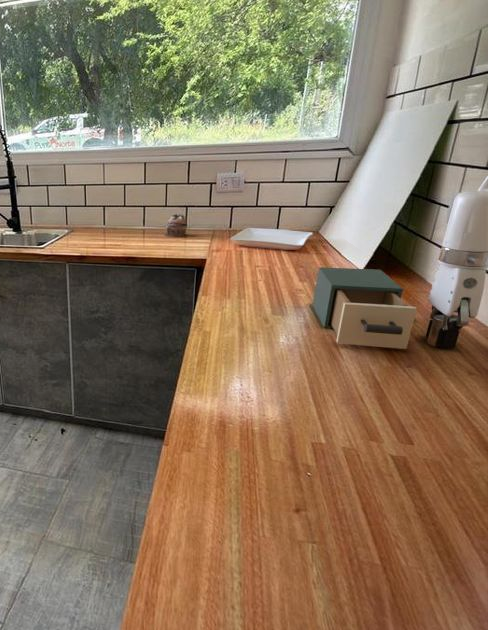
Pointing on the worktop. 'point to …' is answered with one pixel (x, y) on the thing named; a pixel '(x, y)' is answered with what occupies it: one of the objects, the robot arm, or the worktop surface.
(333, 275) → the cabinet
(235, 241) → the square plate
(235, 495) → the worktop surface
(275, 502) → the worktop surface
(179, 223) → the cupcake
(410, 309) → the drawer
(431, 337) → the steel cylinder
